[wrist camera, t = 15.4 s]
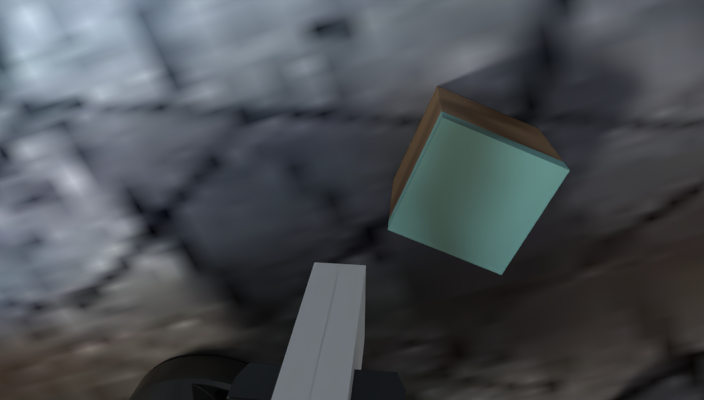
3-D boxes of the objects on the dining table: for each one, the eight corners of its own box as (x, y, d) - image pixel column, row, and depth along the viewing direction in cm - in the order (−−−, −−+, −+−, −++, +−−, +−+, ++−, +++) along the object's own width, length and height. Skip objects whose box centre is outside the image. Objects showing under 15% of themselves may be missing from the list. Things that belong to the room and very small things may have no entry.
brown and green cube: (442, 117, 21) (437, 85, 26) (387, 229, 23) (393, 179, 29) (569, 170, 21) (538, 128, 26) (501, 275, 24) (485, 217, 29)
